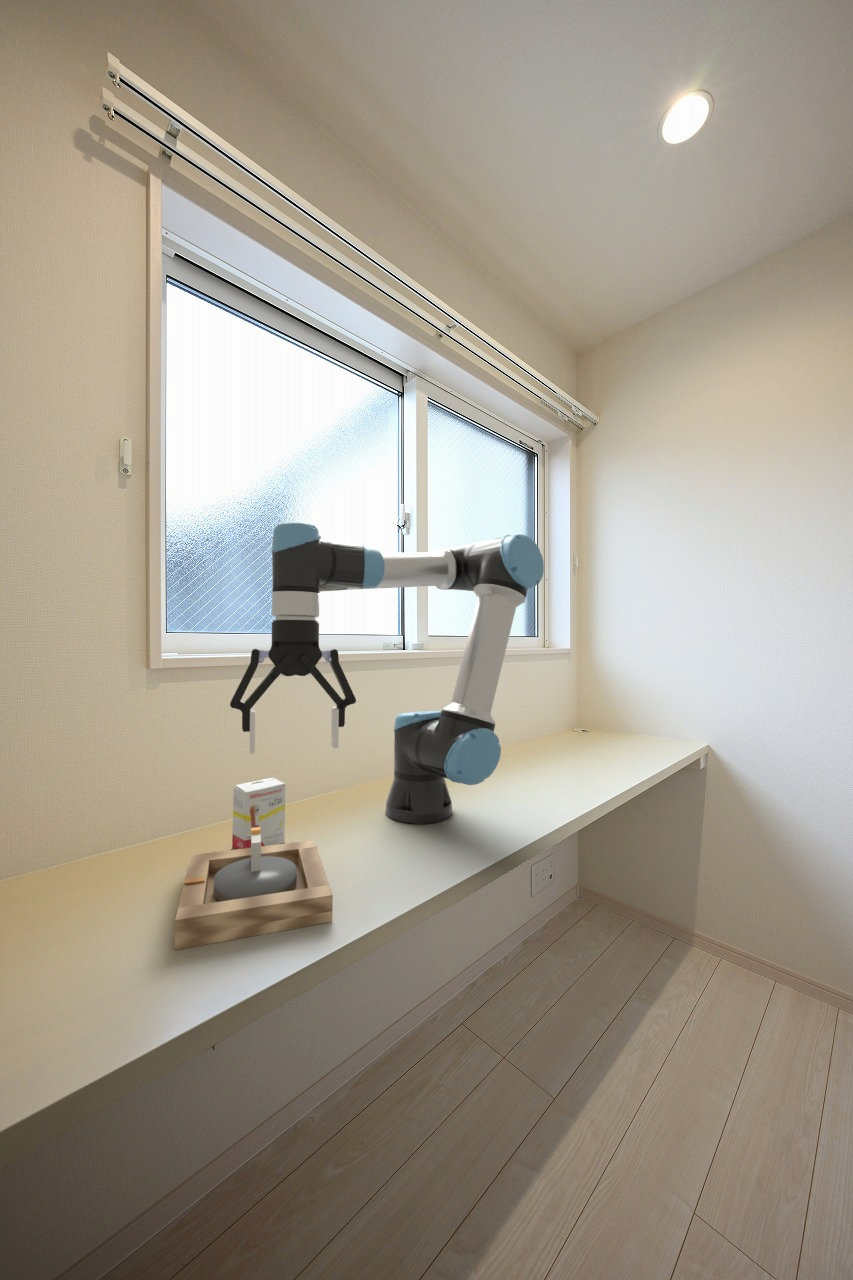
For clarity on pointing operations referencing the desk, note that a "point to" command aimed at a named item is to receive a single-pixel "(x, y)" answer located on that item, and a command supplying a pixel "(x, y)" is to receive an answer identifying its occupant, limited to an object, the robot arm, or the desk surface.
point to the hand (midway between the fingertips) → (294, 749)
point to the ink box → (259, 812)
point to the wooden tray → (251, 898)
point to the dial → (254, 875)
